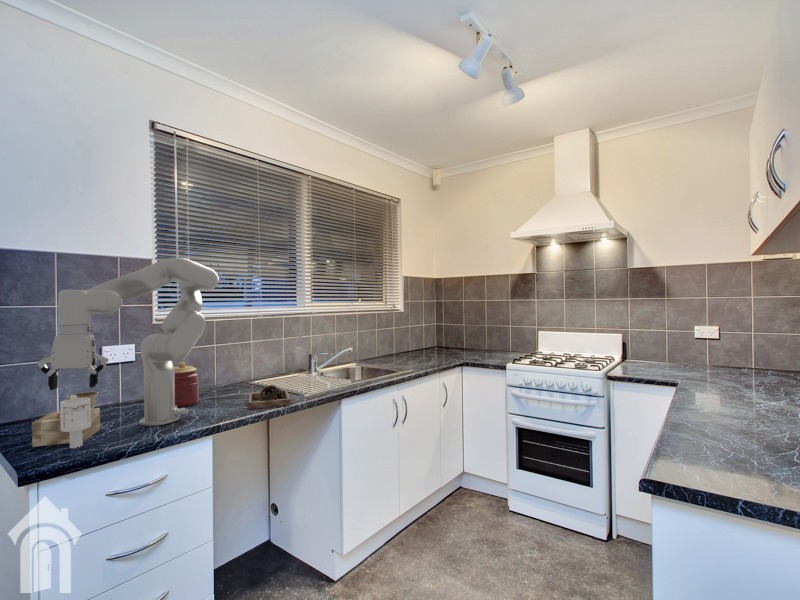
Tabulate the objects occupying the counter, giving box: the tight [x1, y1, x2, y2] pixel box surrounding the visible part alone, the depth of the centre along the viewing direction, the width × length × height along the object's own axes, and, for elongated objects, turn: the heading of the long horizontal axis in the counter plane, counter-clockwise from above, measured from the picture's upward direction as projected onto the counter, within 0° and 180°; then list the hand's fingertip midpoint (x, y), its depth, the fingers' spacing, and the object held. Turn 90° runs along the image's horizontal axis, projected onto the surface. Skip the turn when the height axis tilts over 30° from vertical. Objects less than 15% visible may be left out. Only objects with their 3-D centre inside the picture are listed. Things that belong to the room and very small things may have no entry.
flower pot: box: [66, 391, 99, 410], centre depth 152 cm, size 9×9×9 cm
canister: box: [174, 361, 200, 408], centre depth 171 cm, size 13×13×18 cm
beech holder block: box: [31, 407, 101, 448], centre depth 129 cm, size 13×13×7 cm
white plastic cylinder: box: [59, 394, 91, 449], centre depth 121 cm, size 7×7×15 cm
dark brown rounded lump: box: [259, 384, 285, 401], centre depth 171 cm, size 12×10×8 cm
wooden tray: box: [248, 389, 291, 410], centre depth 171 cm, size 16×18×2 cm
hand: (73, 388), depth 120 cm, fingers open, 9 cm apart
